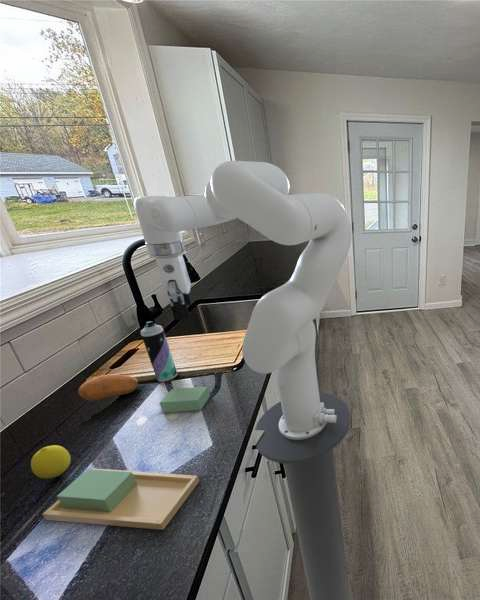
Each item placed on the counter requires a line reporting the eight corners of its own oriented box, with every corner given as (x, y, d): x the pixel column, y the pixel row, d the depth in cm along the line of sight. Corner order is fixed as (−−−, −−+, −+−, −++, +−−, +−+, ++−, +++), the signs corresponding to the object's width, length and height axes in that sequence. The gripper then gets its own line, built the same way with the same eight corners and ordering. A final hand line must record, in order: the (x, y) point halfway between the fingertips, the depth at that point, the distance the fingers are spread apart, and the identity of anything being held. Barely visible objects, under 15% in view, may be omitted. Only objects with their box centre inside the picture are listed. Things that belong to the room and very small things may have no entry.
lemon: (82, 462, 72) (69, 436, 69) (63, 484, 67) (47, 456, 64) (55, 466, 71) (39, 439, 68) (32, 488, 66) (15, 460, 63)
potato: (88, 396, 94) (83, 374, 92) (142, 387, 99) (138, 366, 98) (78, 408, 88) (72, 385, 86) (135, 398, 93) (131, 376, 92)
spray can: (155, 383, 99) (135, 327, 92) (159, 374, 104) (140, 319, 96) (175, 379, 101) (157, 323, 94) (178, 370, 106) (161, 316, 98)
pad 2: (210, 396, 93) (207, 386, 92) (200, 410, 88) (197, 400, 86) (175, 398, 92) (171, 388, 91) (162, 412, 87) (159, 402, 86)
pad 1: (137, 484, 66) (131, 472, 65) (110, 512, 61) (104, 499, 59) (93, 480, 67) (87, 469, 66) (63, 508, 61) (56, 496, 60)
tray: (199, 481, 67) (197, 475, 67) (163, 530, 58) (160, 524, 57) (96, 473, 69) (94, 468, 69) (45, 519, 60) (42, 514, 59)
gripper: (182, 254, 72) (199, 321, 78) (186, 240, 86) (200, 298, 92) (141, 258, 68) (162, 327, 75) (152, 243, 82) (169, 303, 89)
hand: (183, 311), depth 84 cm, fingers open, 9 cm apart
